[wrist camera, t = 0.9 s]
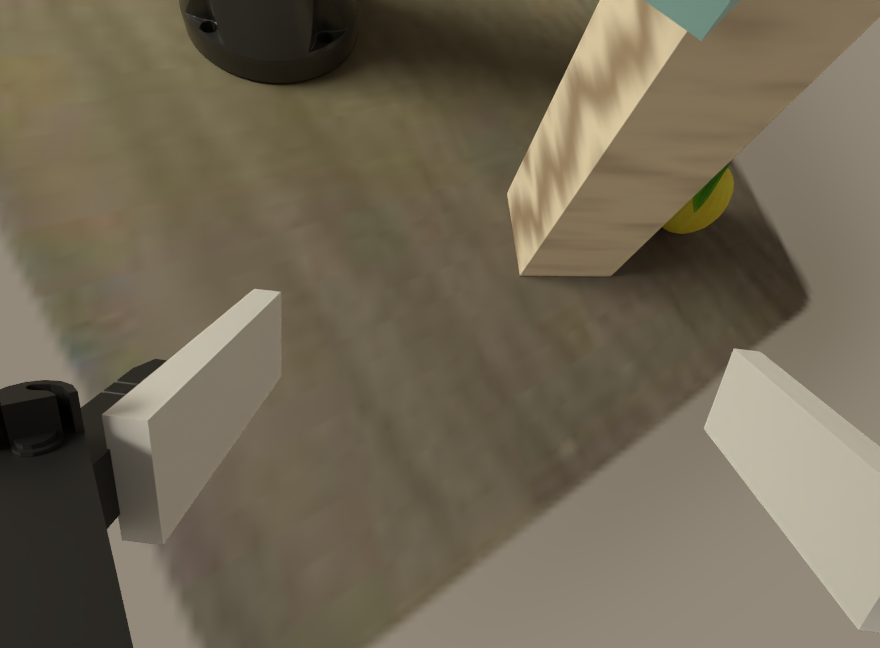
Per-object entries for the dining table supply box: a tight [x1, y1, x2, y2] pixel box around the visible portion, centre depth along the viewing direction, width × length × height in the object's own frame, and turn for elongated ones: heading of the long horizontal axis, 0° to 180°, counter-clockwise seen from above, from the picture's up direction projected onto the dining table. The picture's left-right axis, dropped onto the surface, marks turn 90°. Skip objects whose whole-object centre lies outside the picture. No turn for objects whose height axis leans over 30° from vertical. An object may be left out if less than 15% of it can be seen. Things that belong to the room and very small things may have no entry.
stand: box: [507, 0, 880, 276], centre depth 29 cm, size 11×18×30 cm, turn 140°
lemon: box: [662, 161, 734, 234], centre depth 41 cm, size 7×6×10 cm
